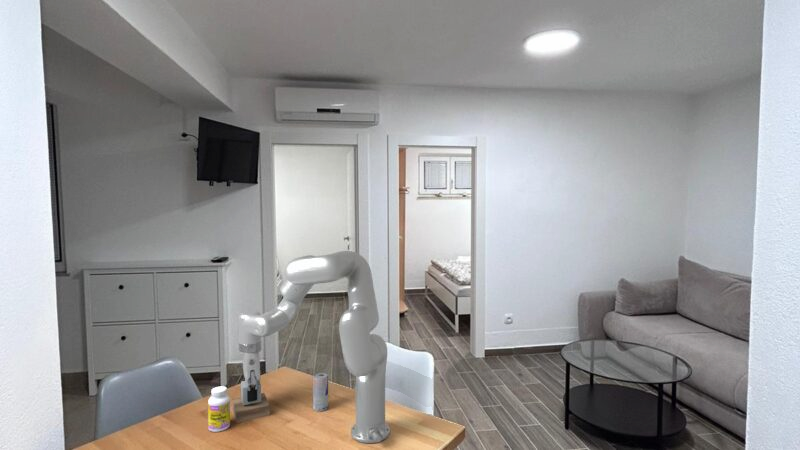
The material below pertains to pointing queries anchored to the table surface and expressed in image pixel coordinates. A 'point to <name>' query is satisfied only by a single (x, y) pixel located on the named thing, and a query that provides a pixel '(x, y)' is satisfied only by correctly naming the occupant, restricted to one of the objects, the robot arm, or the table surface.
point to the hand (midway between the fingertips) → (251, 396)
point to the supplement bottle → (219, 409)
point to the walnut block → (250, 409)
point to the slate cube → (244, 392)
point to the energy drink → (320, 392)
